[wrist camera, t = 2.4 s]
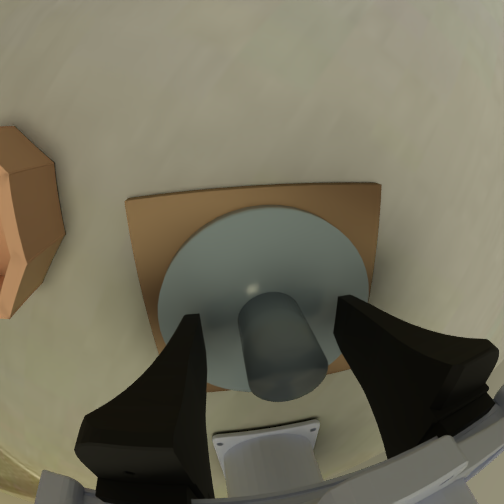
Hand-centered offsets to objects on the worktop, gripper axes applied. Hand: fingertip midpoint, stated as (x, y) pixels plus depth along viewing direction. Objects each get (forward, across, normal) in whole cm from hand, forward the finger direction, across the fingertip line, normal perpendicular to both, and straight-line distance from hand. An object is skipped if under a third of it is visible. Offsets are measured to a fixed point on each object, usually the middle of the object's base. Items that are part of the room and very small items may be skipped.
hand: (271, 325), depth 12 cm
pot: (+2, +13, -6) cm, 14 cm away
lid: (+1, 0, 0) cm, 1 cm away
